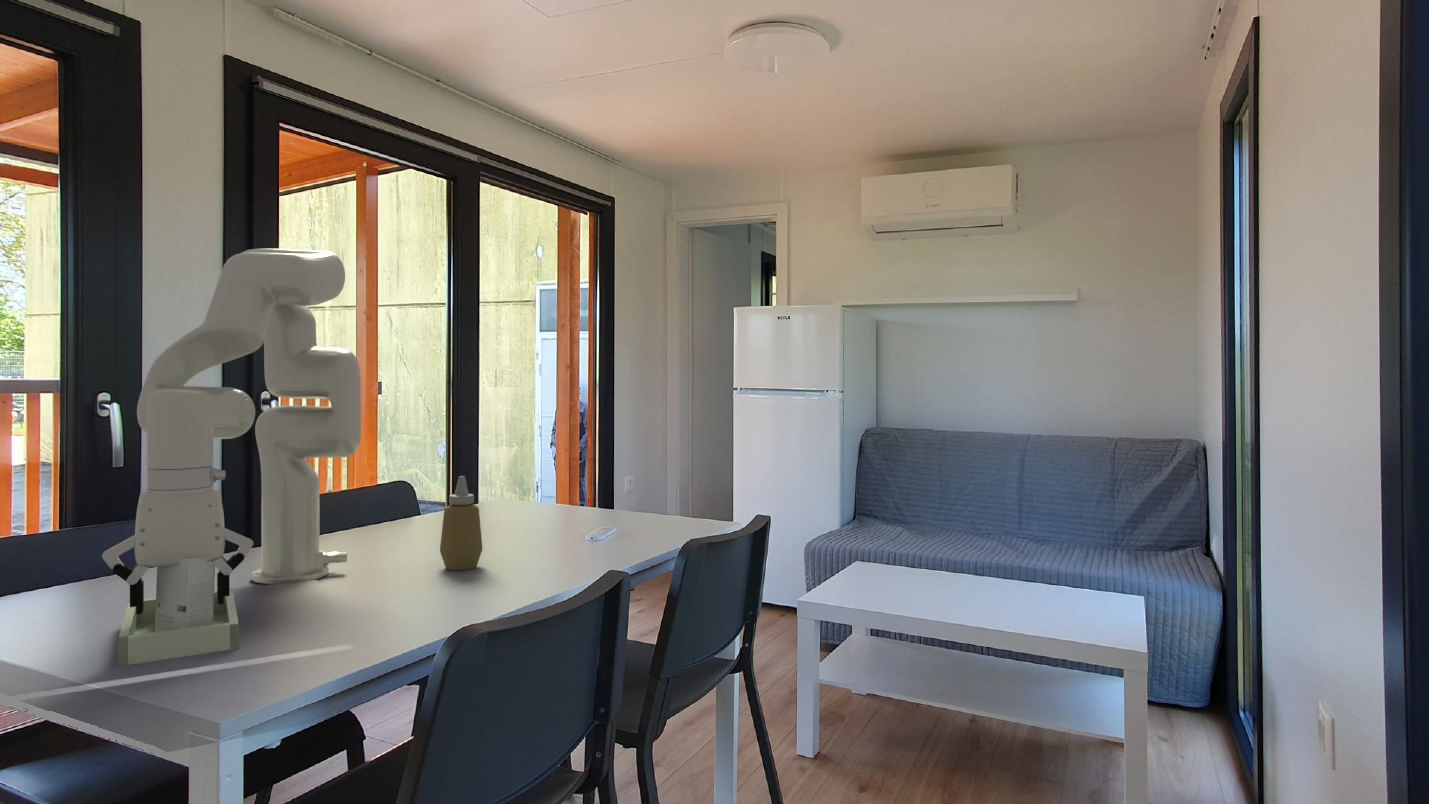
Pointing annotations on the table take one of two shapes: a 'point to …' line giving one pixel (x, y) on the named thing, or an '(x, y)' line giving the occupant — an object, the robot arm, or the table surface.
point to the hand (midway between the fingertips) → (181, 606)
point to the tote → (176, 634)
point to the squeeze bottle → (461, 530)
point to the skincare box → (185, 595)
